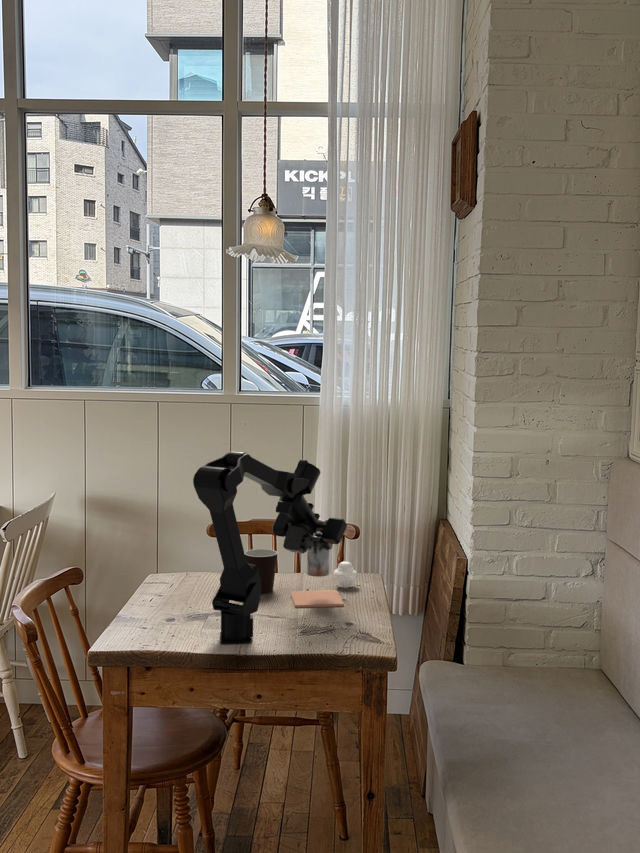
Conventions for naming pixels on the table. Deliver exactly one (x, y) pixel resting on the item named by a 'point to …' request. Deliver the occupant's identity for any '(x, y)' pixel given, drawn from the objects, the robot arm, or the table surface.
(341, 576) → the muffin
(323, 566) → the press pot
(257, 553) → the coffee mug
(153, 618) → the table surface
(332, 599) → the plate
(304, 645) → the table surface
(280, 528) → the robot arm
